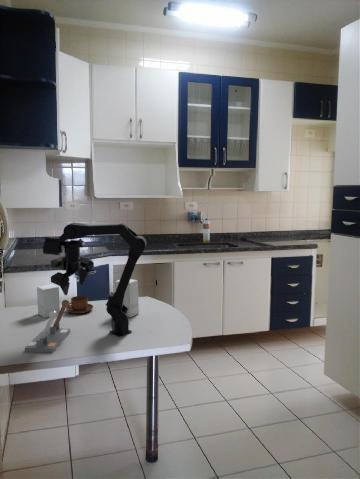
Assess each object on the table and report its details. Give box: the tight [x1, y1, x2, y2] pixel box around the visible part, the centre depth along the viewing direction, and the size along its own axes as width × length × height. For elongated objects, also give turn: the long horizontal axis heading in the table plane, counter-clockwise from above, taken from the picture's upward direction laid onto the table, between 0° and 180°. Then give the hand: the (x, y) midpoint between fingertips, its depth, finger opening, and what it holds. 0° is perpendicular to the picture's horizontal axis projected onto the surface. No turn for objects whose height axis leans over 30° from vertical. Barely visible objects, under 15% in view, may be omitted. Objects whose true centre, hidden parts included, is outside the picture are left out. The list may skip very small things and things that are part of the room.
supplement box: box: [36, 283, 61, 318], centre depth 183 cm, size 7×7×13 cm
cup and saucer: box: [65, 295, 94, 314], centre depth 188 cm, size 12×12×6 cm
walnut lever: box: [52, 299, 70, 328], centre depth 158 cm, size 3×3×13 cm
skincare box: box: [114, 278, 140, 318], centre depth 183 cm, size 8×7×16 cm
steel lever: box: [40, 311, 58, 342], centre depth 146 cm, size 3×3×13 cm
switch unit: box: [24, 323, 71, 353], centre depth 153 cm, size 10×19×4 cm, turn 177°
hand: (73, 289), depth 165 cm, fingers open, 9 cm apart
